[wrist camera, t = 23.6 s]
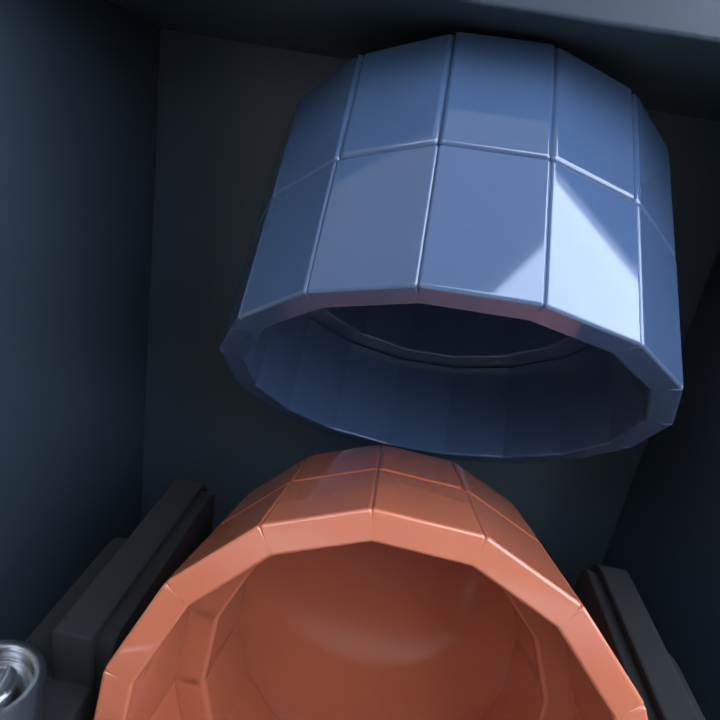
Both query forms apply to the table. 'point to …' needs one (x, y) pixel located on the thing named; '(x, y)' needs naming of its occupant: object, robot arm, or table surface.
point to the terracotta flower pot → (368, 609)
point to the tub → (225, 264)
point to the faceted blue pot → (466, 258)
